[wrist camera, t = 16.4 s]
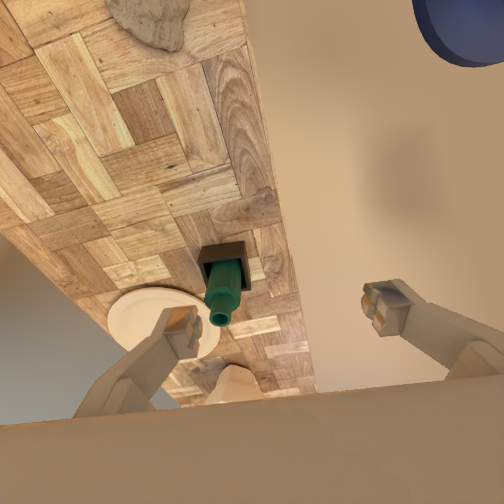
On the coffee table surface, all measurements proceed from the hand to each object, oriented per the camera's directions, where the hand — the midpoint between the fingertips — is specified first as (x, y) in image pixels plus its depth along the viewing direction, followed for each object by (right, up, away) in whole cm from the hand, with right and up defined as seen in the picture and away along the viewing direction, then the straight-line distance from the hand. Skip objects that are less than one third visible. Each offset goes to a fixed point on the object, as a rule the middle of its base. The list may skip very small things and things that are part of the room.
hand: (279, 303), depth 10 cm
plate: (-24, -17, +44) cm, 53 cm away
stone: (-14, +34, +16) cm, 40 cm away
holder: (-7, 0, +35) cm, 35 cm away
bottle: (-7, 0, +34) cm, 35 cm away
